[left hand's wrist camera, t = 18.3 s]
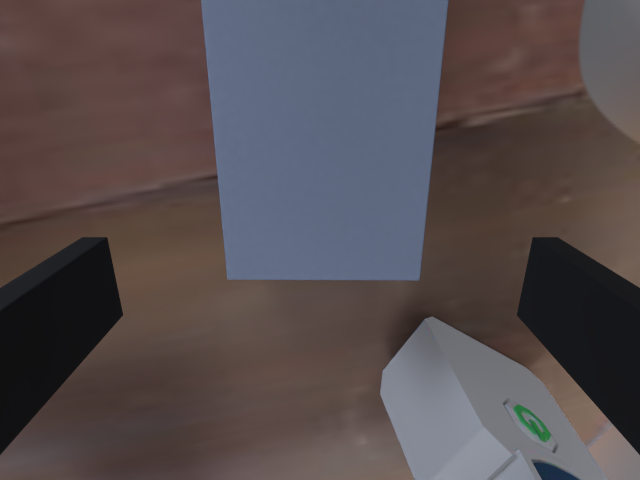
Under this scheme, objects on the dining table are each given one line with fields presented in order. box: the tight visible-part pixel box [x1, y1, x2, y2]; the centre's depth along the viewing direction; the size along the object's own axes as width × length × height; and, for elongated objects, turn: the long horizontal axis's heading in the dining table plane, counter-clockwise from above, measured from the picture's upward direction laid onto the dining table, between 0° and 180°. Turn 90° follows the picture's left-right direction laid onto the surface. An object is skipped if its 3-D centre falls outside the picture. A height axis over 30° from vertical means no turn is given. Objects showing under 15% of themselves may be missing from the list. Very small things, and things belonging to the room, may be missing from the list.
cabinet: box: [201, 0, 449, 280], centre depth 22 cm, size 22×11×9 cm, turn 0°
